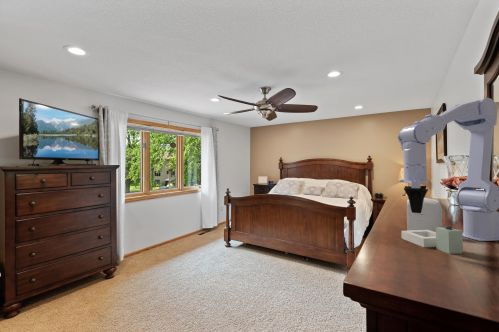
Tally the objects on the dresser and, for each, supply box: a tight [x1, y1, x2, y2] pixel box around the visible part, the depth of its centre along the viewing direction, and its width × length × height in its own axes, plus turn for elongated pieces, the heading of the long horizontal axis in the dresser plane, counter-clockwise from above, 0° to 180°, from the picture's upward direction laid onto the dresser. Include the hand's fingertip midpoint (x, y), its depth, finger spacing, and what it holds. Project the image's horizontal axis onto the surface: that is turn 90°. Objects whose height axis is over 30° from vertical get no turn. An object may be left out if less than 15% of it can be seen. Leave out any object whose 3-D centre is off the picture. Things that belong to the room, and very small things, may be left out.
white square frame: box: [401, 230, 436, 248], centre depth 75 cm, size 9×9×2 cm
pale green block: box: [435, 225, 464, 255], centre depth 67 cm, size 4×4×7 cm
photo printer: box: [406, 197, 443, 232], centre depth 86 cm, size 10×4×12 cm, turn 39°
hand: (416, 210), depth 73 cm, fingers open, 7 cm apart
